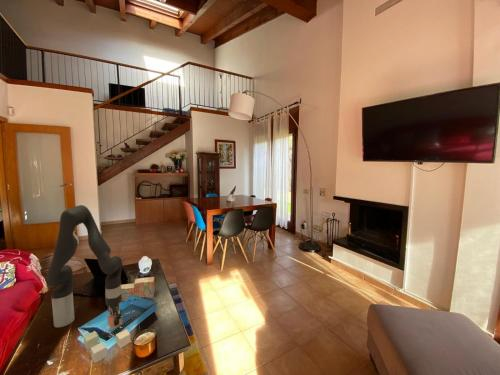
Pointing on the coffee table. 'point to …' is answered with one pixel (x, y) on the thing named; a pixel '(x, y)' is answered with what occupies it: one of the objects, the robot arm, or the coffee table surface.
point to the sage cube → (91, 340)
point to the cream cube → (123, 338)
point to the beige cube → (98, 352)
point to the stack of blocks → (139, 288)
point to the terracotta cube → (111, 321)
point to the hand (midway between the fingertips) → (114, 322)
